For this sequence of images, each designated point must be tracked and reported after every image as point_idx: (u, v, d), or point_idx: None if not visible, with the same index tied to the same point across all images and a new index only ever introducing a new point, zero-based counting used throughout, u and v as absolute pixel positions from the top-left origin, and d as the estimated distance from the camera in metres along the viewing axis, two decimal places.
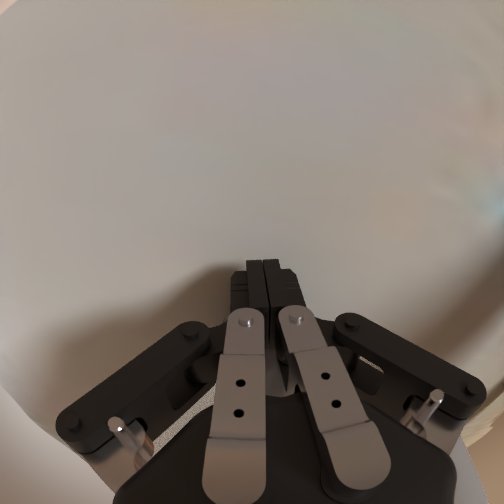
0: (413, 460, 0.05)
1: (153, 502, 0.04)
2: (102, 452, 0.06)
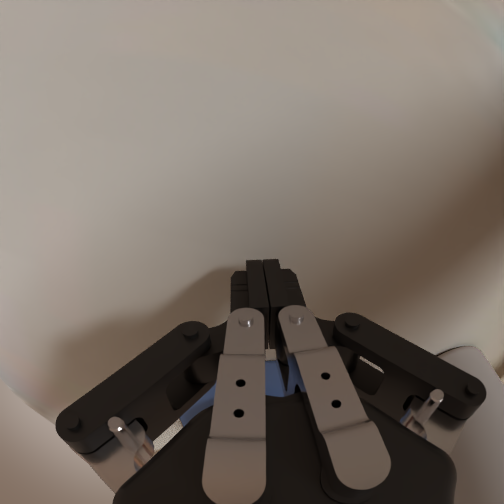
0: (413, 460, 0.05)
1: (153, 502, 0.04)
2: (102, 452, 0.06)
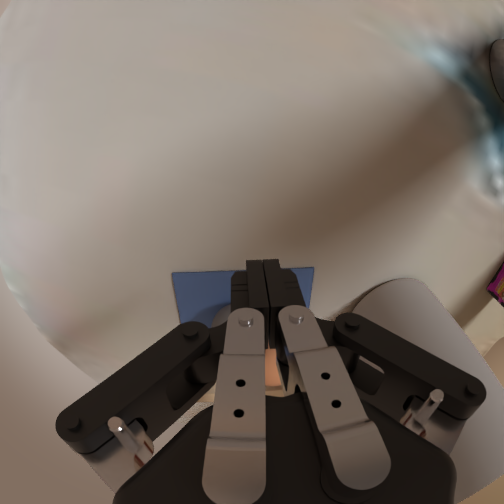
0: (413, 460, 0.05)
1: (153, 502, 0.04)
2: (102, 452, 0.06)
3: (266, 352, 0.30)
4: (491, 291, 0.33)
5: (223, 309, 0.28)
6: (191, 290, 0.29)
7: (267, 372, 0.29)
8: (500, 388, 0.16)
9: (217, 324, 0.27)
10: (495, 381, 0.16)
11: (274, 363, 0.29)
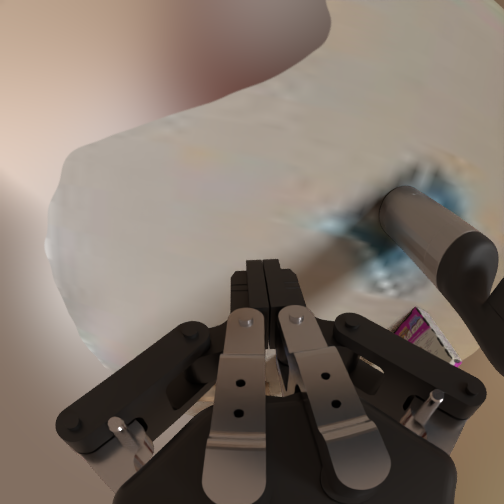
0: (413, 460, 0.05)
1: (153, 502, 0.04)
2: (102, 452, 0.06)
3: None
4: None
5: None
6: None
7: None
8: None
9: None
10: None
11: None
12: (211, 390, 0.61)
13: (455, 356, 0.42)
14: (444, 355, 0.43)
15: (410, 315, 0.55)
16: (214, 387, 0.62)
